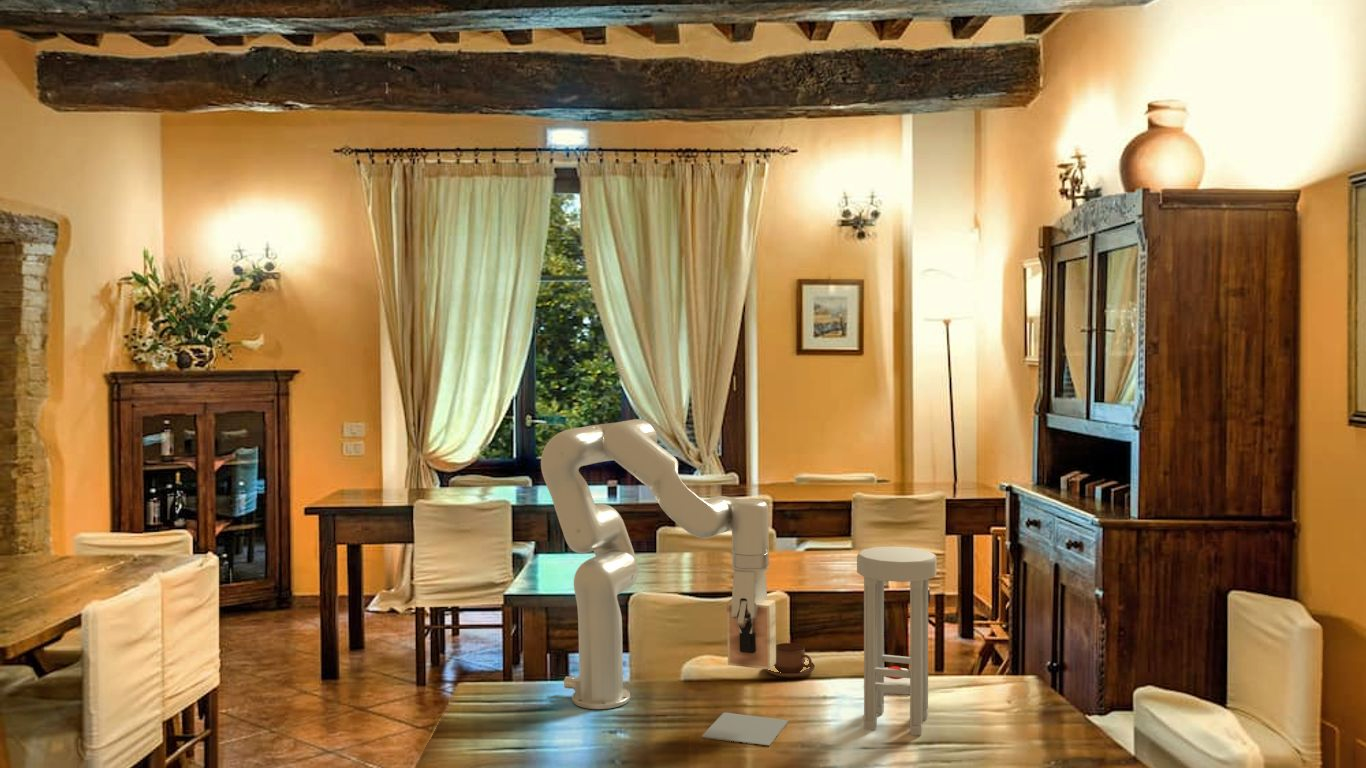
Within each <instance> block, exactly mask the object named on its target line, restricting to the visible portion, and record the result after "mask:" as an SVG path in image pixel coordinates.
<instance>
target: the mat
mask: <svg viewBox="0 0 1366 768" xmlns="http://www.w3.org/2000/svg"><path fill="white" fill-rule="evenodd" d="M788 723H789V720H788V719H780V718H772V717H766V716H757V715H748V714H742V713H741V714H739V713H733V712H723V713H722V714H720V716H719V717H718V718H717V719H716V720H715V721H714V722H713V724H711V726H710V727H708V728H707V730H706V731H704V733H703V734H702V735H701V738H702V739H711V740H717V741H725V742H731V741H732V742H733V741H734V742H733V743H739V742H742V743H741V744H746V743H747V745H754V744H761V745H770V744H771V743H772V742H774V741H775V740H776V739H777V737H778V736H779V735H780V733H781V732H782V731H783V729H784V728H785V727H786V726H787V724H788ZM785 725H786V726H785ZM781 730H782V731H781ZM778 734H779V735H778ZM777 735H778V736H777ZM776 736H777V737H776ZM775 738H776V739H775ZM774 739H775V740H774ZM772 744H773V743H772ZM772 744H771V745H772ZM761 745H760V746H761ZM771 745H770V746H771Z"/></svg>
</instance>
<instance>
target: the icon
mask: <svg viewBox="0 0 1366 768" xmlns="http://www.w3.org/2000/svg"><path fill="white" fill-rule="evenodd" d="M888 668H889V669H899V670H909V669H908V668H903V667H899V666H893V665H892V666H890V667H888ZM884 683H889V684H899V685H909V686H910V678H900V677H890V676H884ZM884 694H886V695H907V696H908V695H910V693H906V692H896V691H887V690H884Z"/></svg>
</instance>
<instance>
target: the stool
mask: <svg viewBox="0 0 1366 768" xmlns="http://www.w3.org/2000/svg"><path fill="white" fill-rule="evenodd" d="M937 560H938V559H937V554H935V553H933V552H931V551H929V550H927V549H921V548H917V547H911V546H910V547H909V546H894V545H893V546H892V545H891V546H876V547H868V548H865V549H861V551H859V553H858V554H857V555H856V573H857V574H859V575H860V576H862V577H863V720H864V721H863V729H864V730H869V729H872V730H871V731H875V730H876V729H877V727H878V715H880V716H883V714H884V711H885V700H884V699H885V695H884V690H887V691H896V692H906V693H910V694H909V735H914V736H922V735H923V730H924V729H923V728H924V727H923V722H924V721H925V720H928V717H929V580H930V579H934V578H935V577H936V576H937V572H938V571H937ZM885 582H896V583H905V582H906V583H907V582H909V583H910V584H909V587H910V589H909V593H910V594H909V598H910V599H909V603H910V604H909V606H910V607H909V629H910V630H909V641H910V642H909V656H904V655H903V656H901V655H891V654H885V636H884V635H885V633H884V632H885ZM885 662H886V663H887V662H888V663H895V664H896V663H897V664H898V663H899V664H909V669H908V670H899V669H889V667H885ZM884 676H890V677H900V678H910V686H909V685H899V684H889V683H884ZM923 720H924V721H923Z"/></svg>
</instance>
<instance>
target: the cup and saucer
mask: <svg viewBox="0 0 1366 768" xmlns="http://www.w3.org/2000/svg"><path fill="white" fill-rule="evenodd" d="M806 658H807V659H808V660H807V659H806ZM805 660H807V661H809V664H808V665H805V664H804V662H805ZM774 666H775V668H776V669H777V670H778V671H779V672H774V671H771V670H768V669H764V670H765V671H766V672H767V673H769V674H770V675H773V676H775V677H776V676H777V677H782V678H800V677H804V676H807V675H810V674H811V673H813V671H814V670H815V666H816V665H815V664H814V663H813V660H812V658H811V656H810V655H808V654H807V653H806V654H805V646H804V645H802V644H799V643H794V642H783V643H782V642H781V643H776V664H775V665H774ZM803 667H806V668H808V667H810V668H809V669H806V670H804V671H802V672H800V671H801V670H802V669H803ZM780 672H781V673H780Z"/></svg>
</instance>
